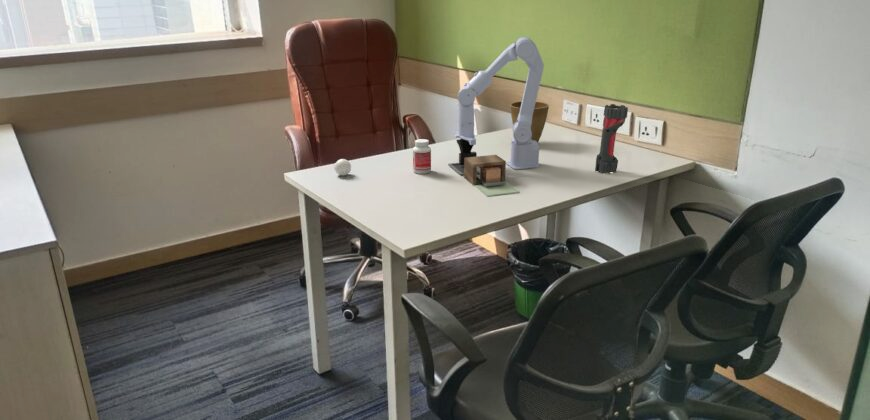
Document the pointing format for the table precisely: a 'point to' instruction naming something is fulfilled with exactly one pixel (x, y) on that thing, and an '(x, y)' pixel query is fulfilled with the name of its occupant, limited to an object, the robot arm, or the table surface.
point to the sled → (485, 171)
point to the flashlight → (610, 137)
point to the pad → (497, 189)
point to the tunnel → (481, 161)
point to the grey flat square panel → (457, 168)
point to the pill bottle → (422, 157)
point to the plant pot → (537, 117)
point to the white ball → (342, 167)
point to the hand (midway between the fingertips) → (465, 159)
